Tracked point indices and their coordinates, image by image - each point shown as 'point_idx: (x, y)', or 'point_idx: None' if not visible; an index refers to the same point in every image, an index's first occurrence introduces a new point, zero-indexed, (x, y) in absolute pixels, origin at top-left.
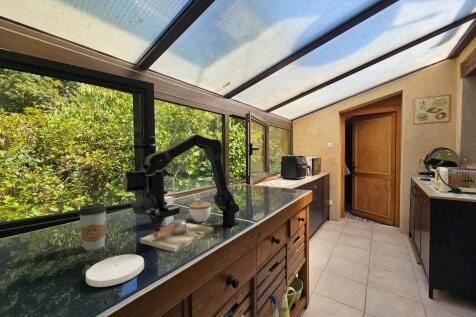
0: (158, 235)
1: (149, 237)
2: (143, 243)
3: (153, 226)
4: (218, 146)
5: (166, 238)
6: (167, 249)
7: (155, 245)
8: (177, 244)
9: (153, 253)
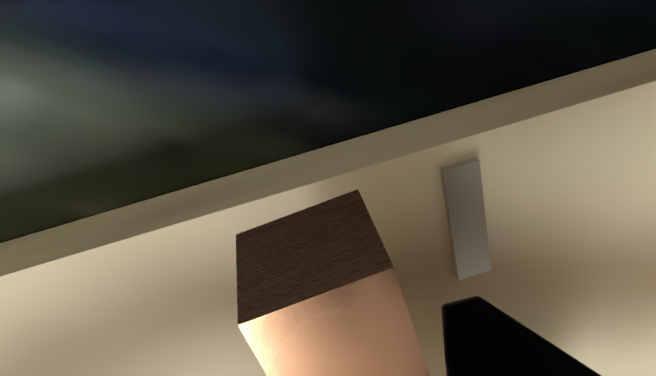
0: (245, 276)
1: (641, 180)
2: (619, 60)
3: (568, 373)
4: None
5: None
6: (95, 219)
7: (354, 148)
8: (22, 365)
9: (127, 14)
